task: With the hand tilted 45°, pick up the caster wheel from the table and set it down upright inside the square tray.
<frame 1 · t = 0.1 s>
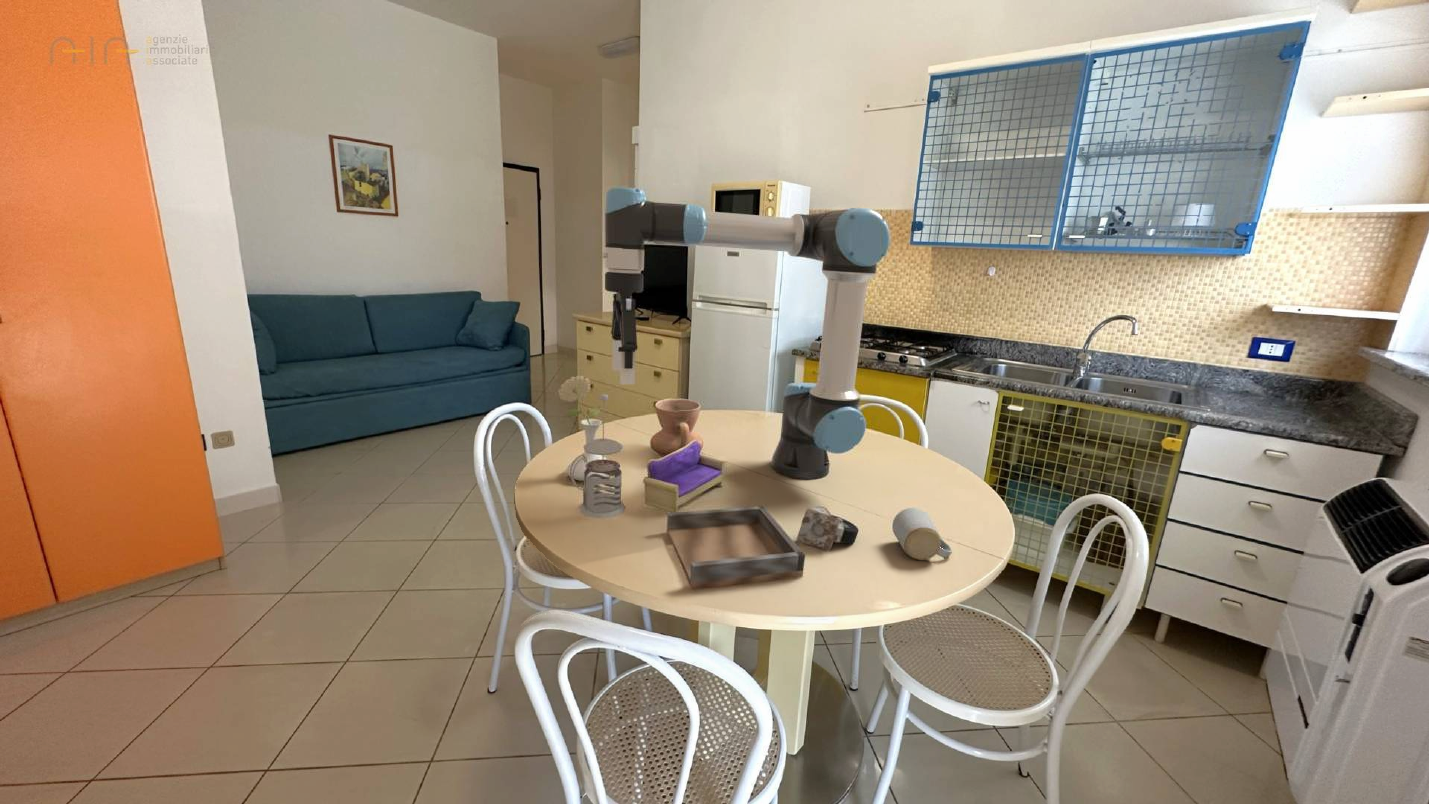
hand: (622, 377, 118), 28 cm above the table, tool pointing down, fingers open, 13 cm apart
square tray: (730, 553, 106), on the table
caster wheel: (827, 539, 114), on the table
ceramic mug: (920, 552, 111), on the table
french press: (598, 509, 121), on the table
flower in vase: (587, 477, 138), on the table
toy sofa: (685, 496, 131), on the table
ceramic jug: (676, 455, 157), on the table
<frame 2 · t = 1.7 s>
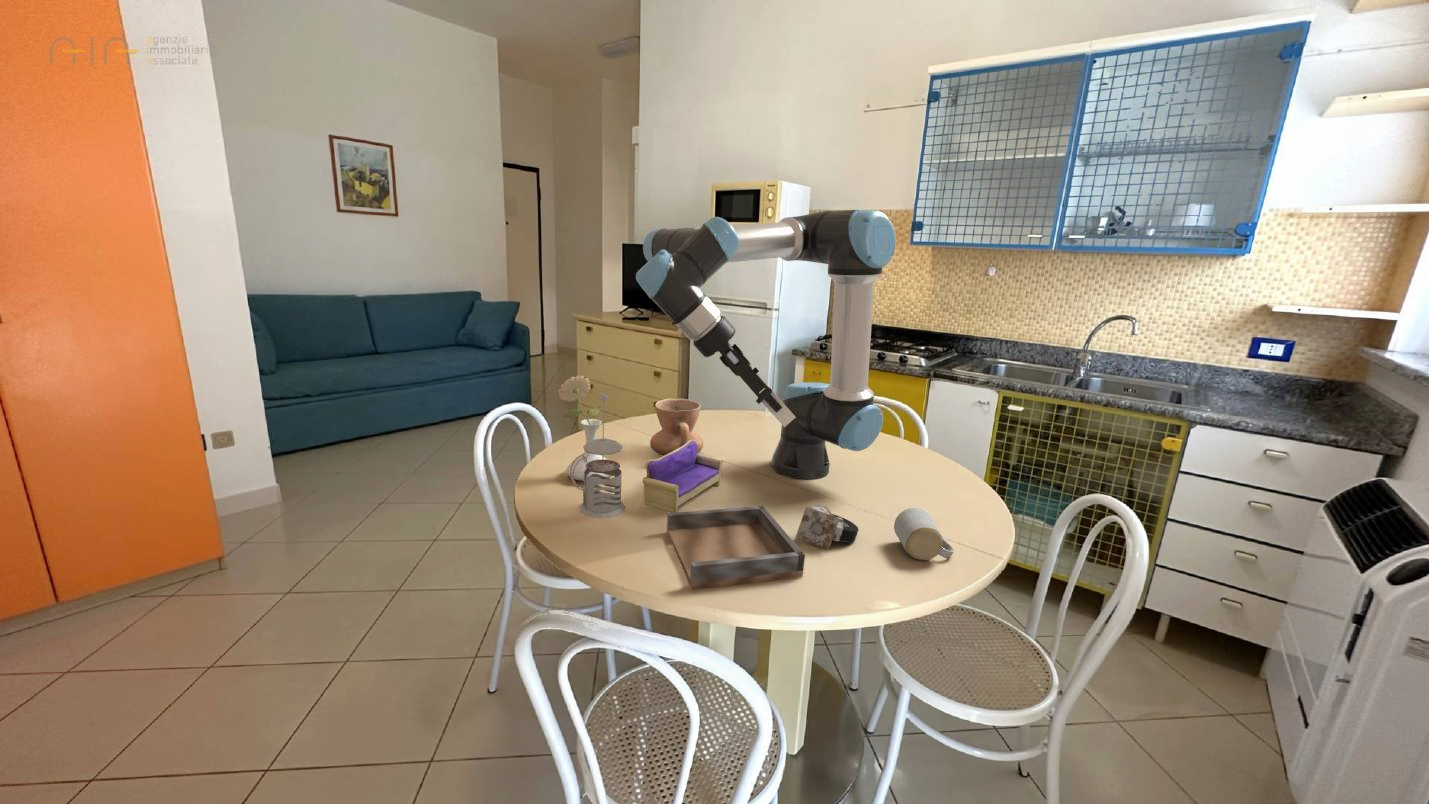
hand: (781, 411, 108), 26 cm above the table, tool tilted 45°, fingers open, 13 cm apart
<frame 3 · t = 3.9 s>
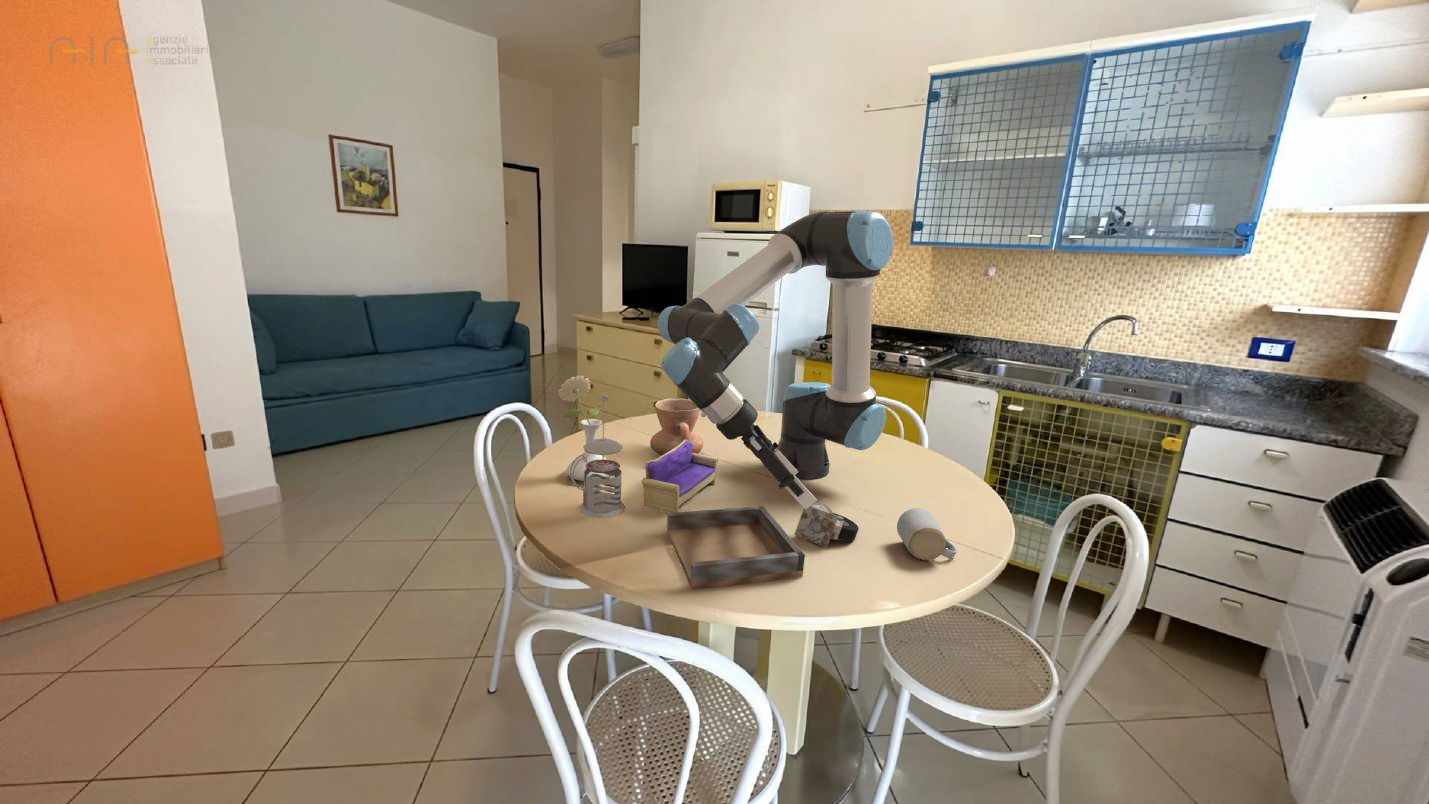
hand: (801, 489, 110), 11 cm above the table, tool tilted 45°, fingers open, 13 cm apart
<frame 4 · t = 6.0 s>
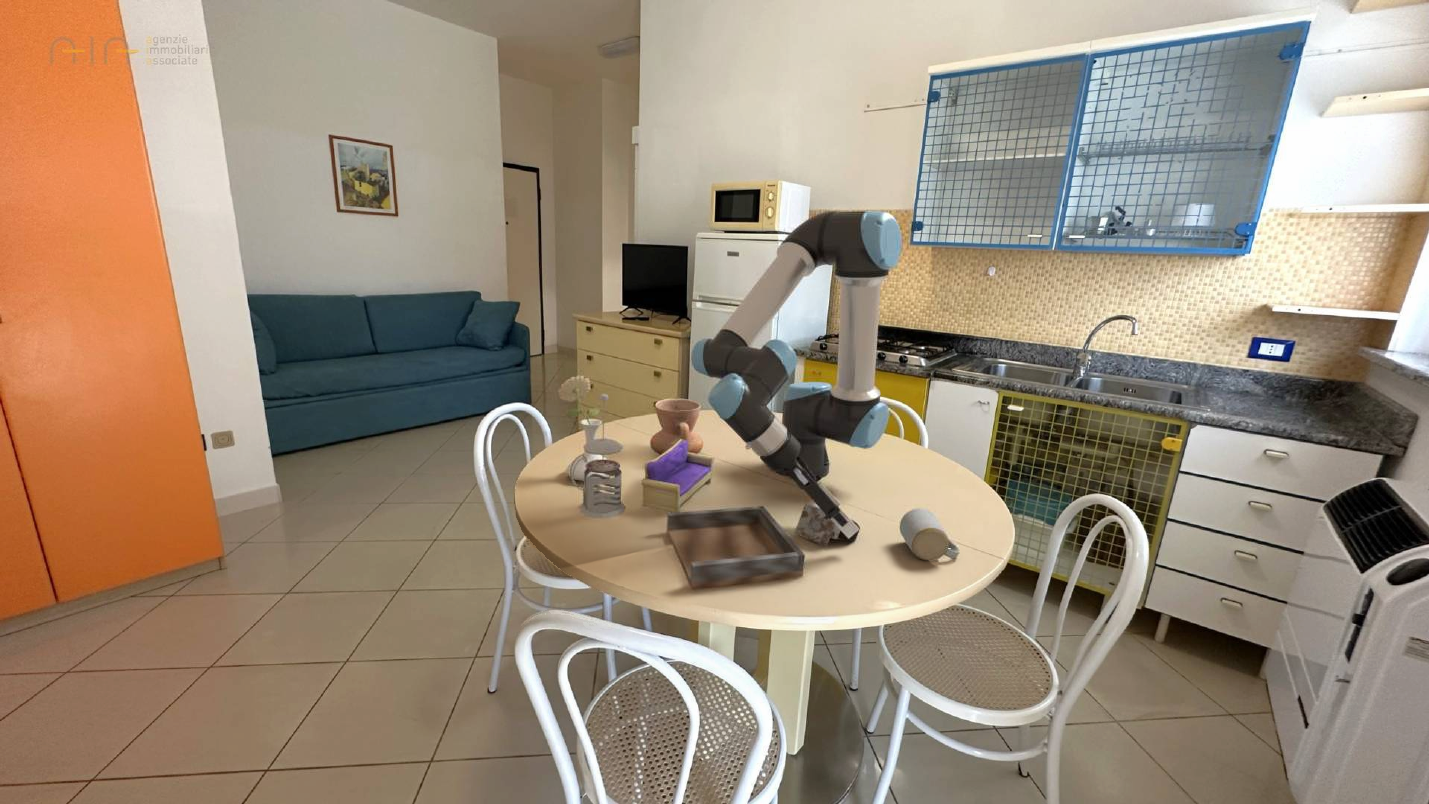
hand: (843, 519, 114), 4 cm above the table, tool tilted 45°, fingers open, 10 cm apart
caster wheel: (828, 536, 116), on the table, touching gripper
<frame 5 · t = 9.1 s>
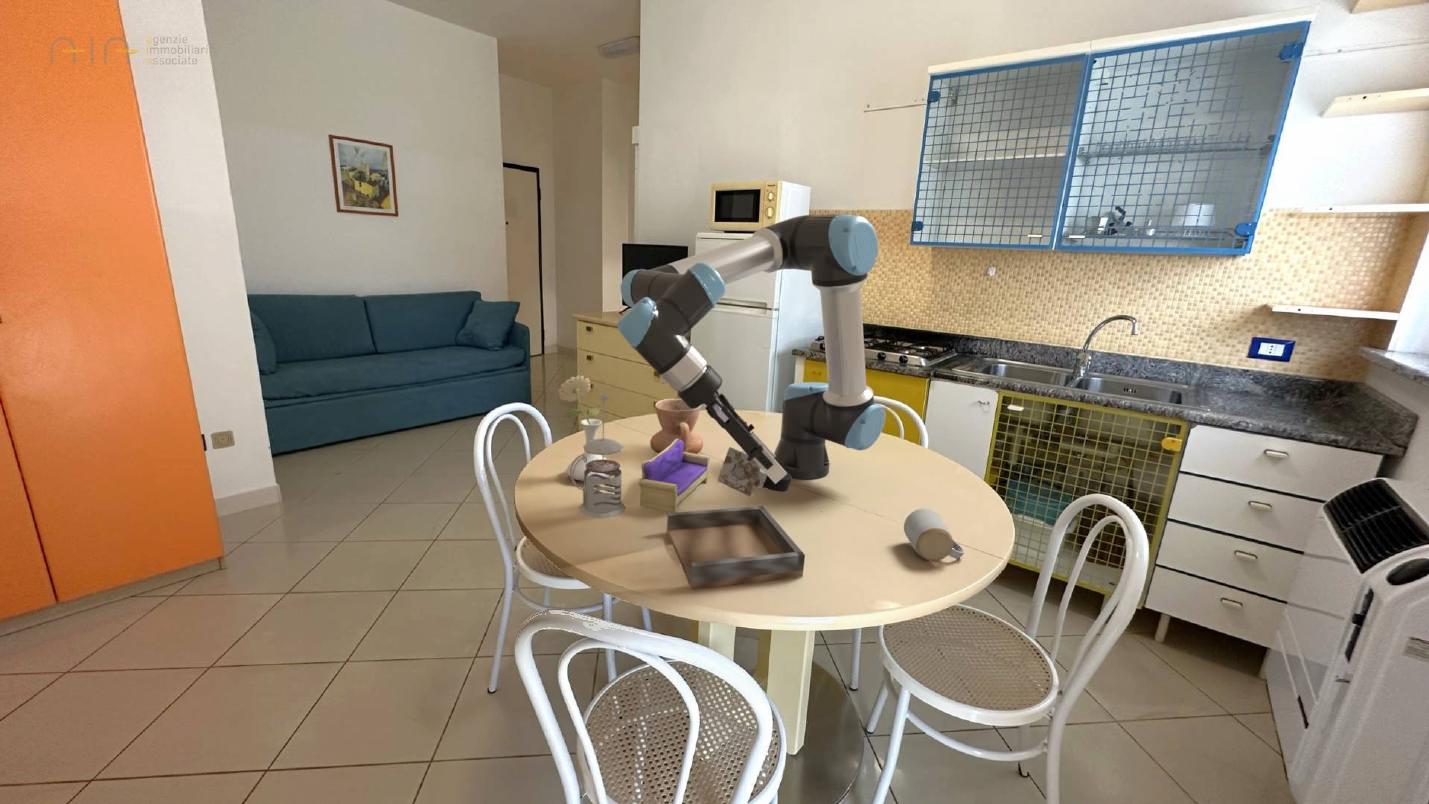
hand: (775, 468, 104), 17 cm above the table, tool tilted 45°, fingers closed on caster wheel, 8 cm apart
caster wheel: (757, 487, 104), point 13 cm above the table, touching gripper
when the fingers open (6 cm above the table, at t = 11.7 s): caster wheel drops 1 cm, resting on square tray.
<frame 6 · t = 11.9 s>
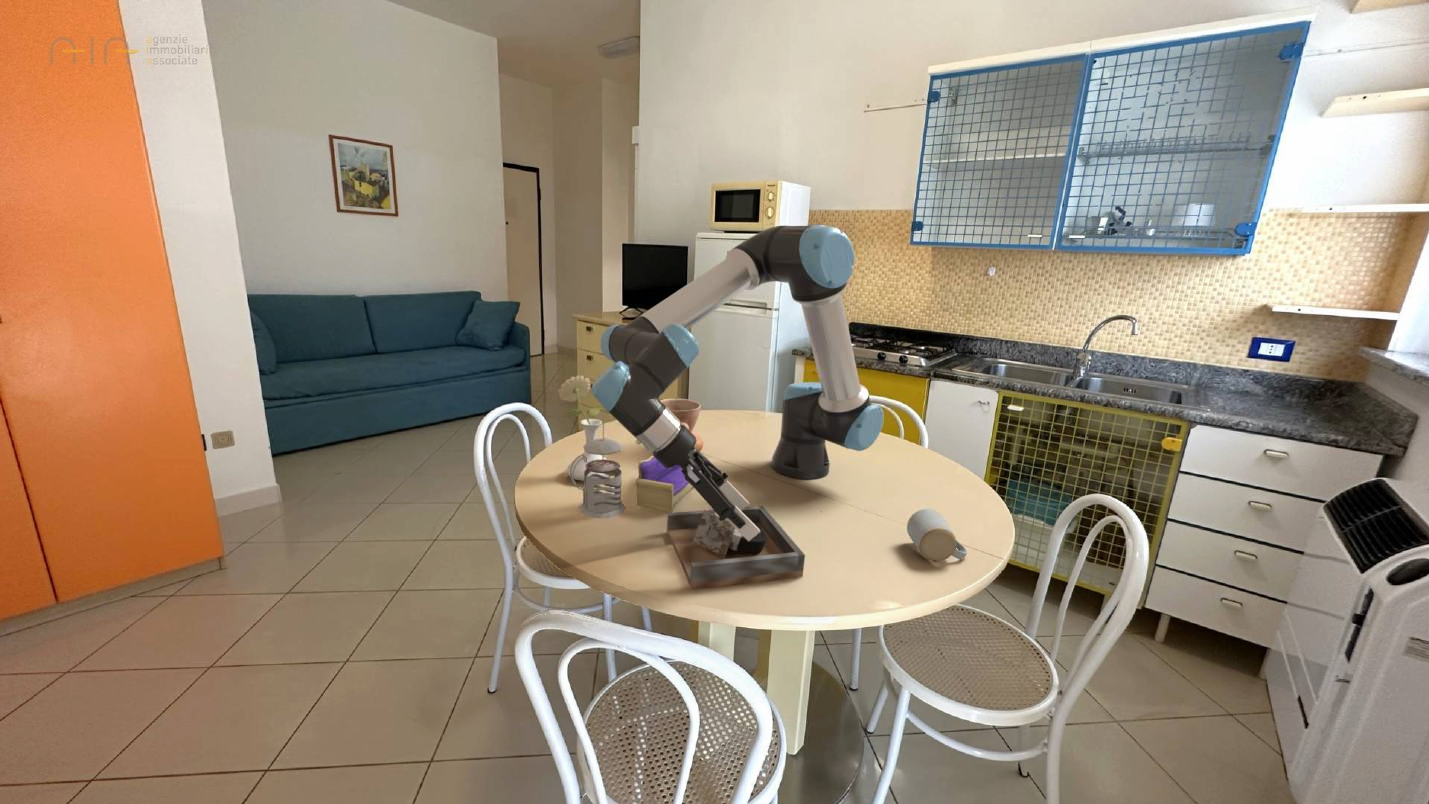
hand: (748, 520, 105), 7 cm above the table, tool tilted 45°, fingers open, 10 cm apart
caster wheel: (733, 547, 107), point 1 cm above the table, touching square tray
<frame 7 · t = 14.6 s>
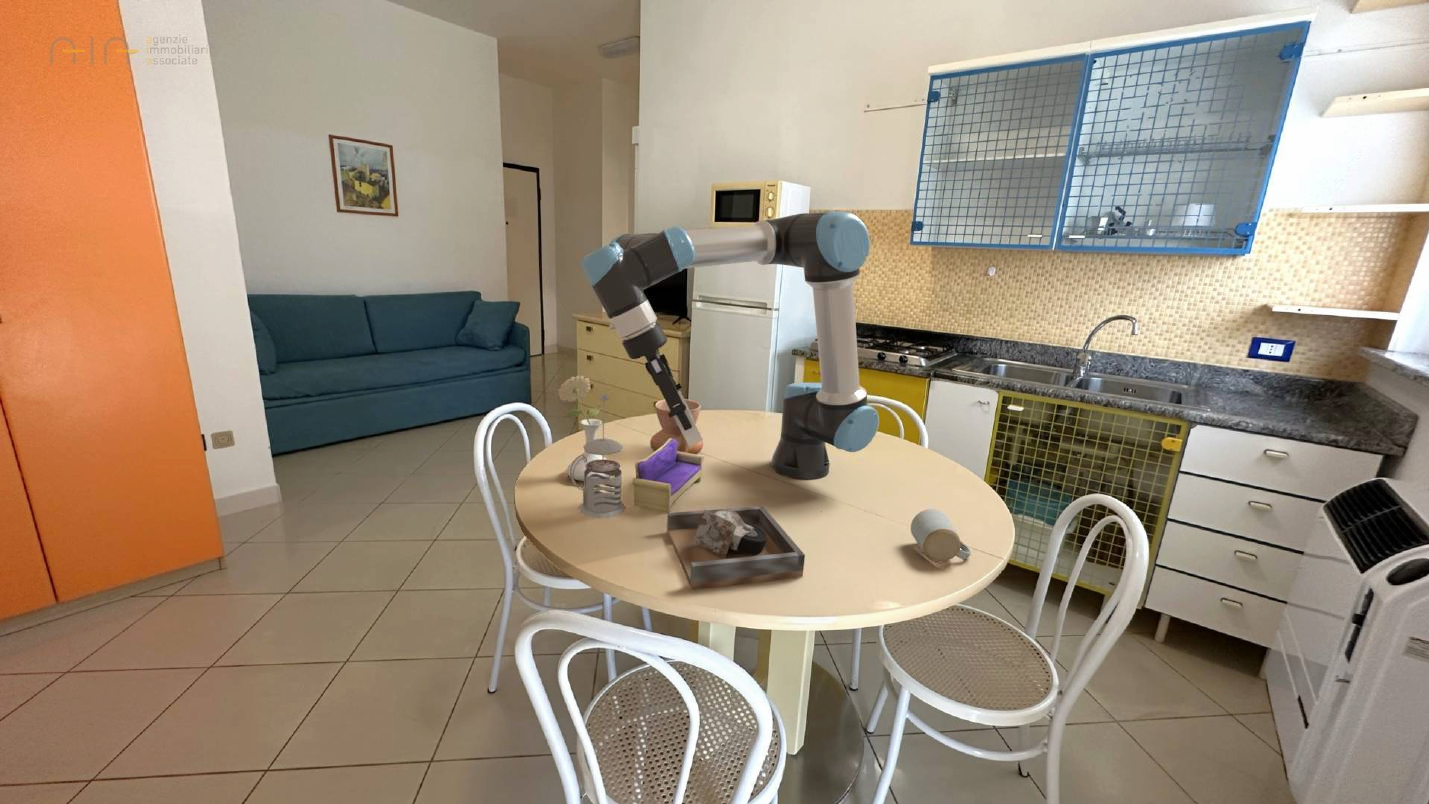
hand: (692, 432, 108), 21 cm above the table, tool tilted 30°, fingers open, 13 cm apart
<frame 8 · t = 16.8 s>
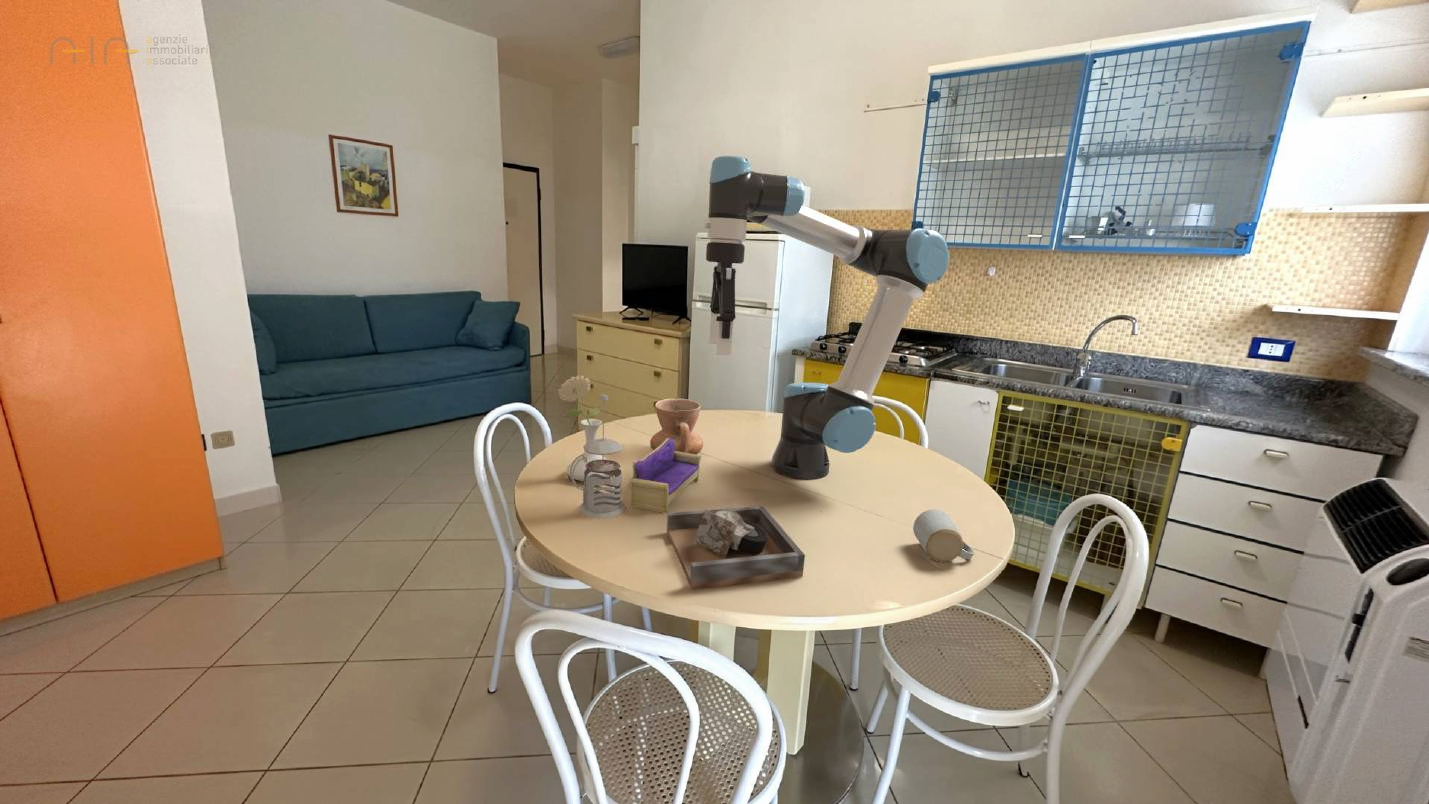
hand: (719, 349, 118), 35 cm above the table, tool pointing down, fingers open, 13 cm apart
at the end: caster wheel inside the target area on the square tray (1.4 cm from its centre), point 1.0 cm above the square tray's base; caster wheel tilted 0°; the gripper is holding nothing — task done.
